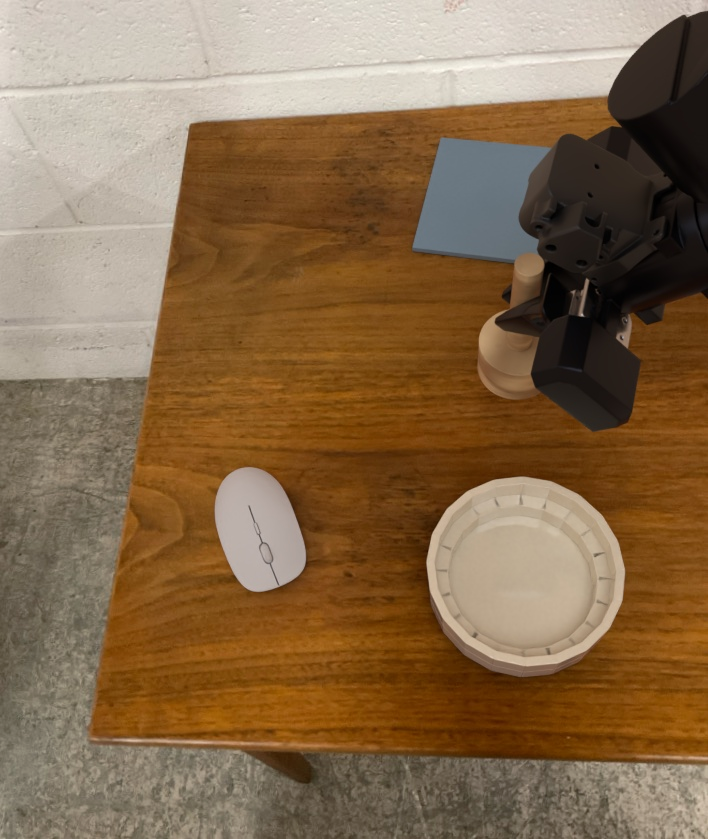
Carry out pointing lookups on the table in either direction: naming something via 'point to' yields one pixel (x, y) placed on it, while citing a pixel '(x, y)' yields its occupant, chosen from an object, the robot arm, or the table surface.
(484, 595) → the bowl
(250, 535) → the computer mouse
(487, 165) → the mat
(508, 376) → the wooden stamp
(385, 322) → the table surface
